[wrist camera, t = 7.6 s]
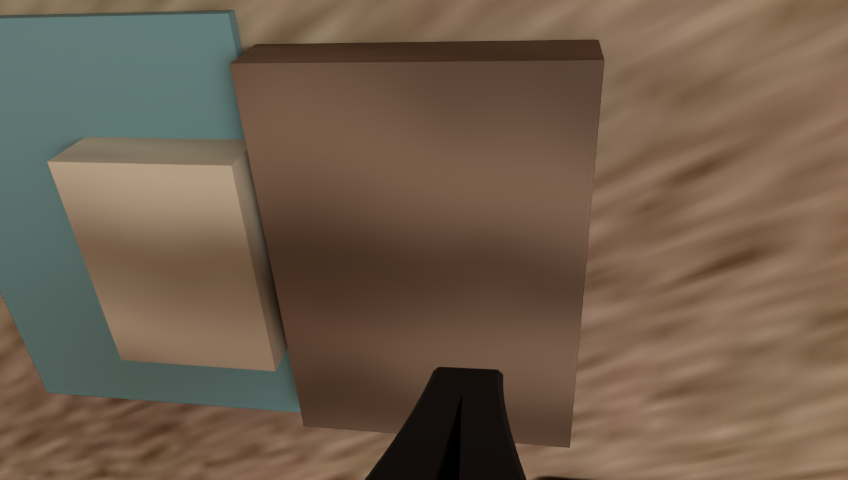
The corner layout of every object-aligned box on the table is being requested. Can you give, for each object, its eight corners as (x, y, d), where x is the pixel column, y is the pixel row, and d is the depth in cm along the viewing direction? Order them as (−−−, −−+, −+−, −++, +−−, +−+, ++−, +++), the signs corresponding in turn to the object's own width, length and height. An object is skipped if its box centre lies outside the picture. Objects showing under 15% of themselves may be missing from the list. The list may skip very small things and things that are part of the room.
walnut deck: (567, 407, 25) (569, 447, 24) (318, 389, 27) (304, 425, 25) (598, 40, 18) (604, 60, 16) (255, 44, 20) (229, 63, 18)
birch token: (293, 335, 25) (275, 371, 23) (148, 326, 26) (121, 360, 24) (256, 139, 21) (231, 165, 19) (85, 137, 22) (47, 161, 20)
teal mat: (310, 406, 27) (307, 413, 27) (53, 386, 29) (47, 392, 29) (233, 10, 19) (228, 13, 19) (-117, 18, 21) (-128, 21, 21)
